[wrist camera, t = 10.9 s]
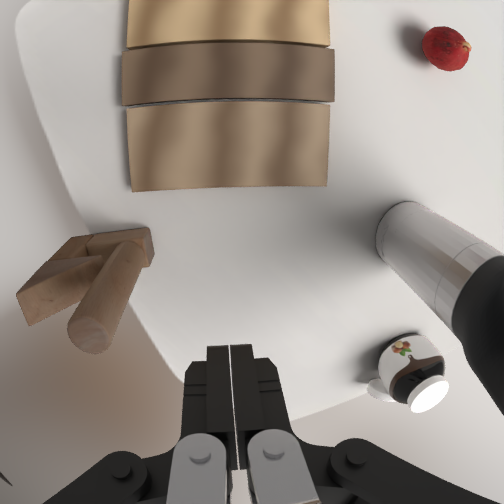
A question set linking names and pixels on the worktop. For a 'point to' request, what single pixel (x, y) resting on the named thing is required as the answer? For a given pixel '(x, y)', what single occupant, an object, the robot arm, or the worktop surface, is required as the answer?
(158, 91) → the mating board
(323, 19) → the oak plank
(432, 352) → the spread jar
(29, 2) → the worktop surface
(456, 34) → the onion
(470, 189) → the worktop surface
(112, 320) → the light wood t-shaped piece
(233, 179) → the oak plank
